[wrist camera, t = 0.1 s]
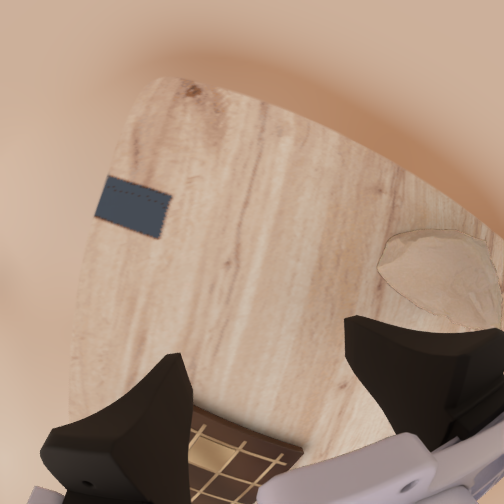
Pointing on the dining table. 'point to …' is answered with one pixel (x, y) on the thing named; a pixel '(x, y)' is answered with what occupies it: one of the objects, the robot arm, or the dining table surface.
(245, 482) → the board
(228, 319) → the dining table surface
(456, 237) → the stone
